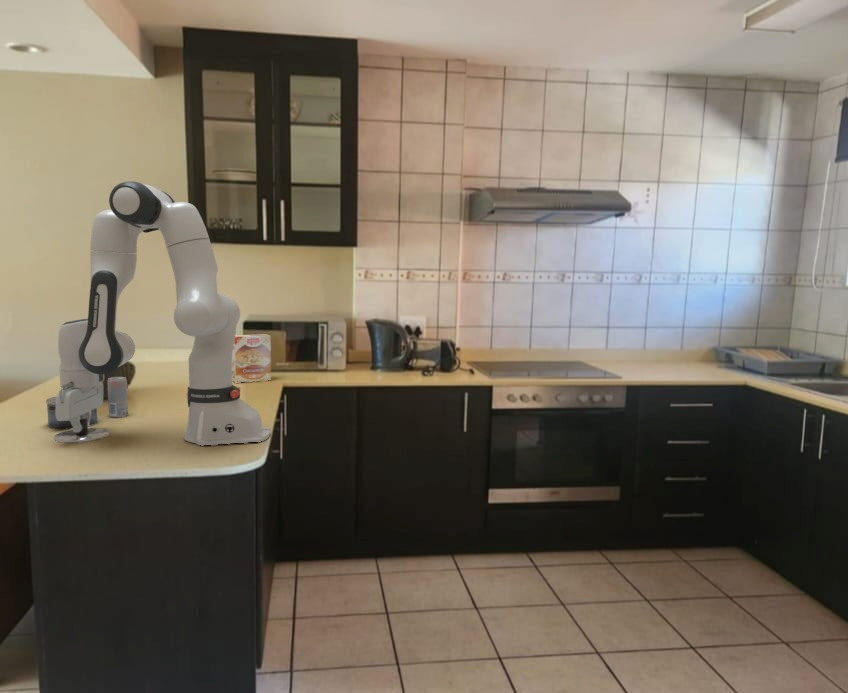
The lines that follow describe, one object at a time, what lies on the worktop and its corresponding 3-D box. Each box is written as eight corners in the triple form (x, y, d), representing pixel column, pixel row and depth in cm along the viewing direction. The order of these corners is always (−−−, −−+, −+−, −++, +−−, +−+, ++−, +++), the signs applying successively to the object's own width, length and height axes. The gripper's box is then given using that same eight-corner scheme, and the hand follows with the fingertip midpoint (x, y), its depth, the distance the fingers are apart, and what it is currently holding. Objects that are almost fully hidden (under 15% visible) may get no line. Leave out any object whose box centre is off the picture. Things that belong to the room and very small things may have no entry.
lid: (116, 430, 174) (115, 414, 174) (96, 443, 161) (95, 425, 161) (68, 431, 173) (67, 414, 172) (44, 443, 160) (43, 425, 160)
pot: (108, 416, 190) (107, 392, 190) (82, 431, 173) (81, 404, 172) (64, 417, 189) (63, 392, 188) (33, 431, 172) (32, 404, 171)
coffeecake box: (235, 384, 251) (234, 336, 249) (231, 381, 257) (230, 334, 255) (271, 381, 259) (271, 335, 256) (266, 378, 265) (266, 333, 262)
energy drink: (123, 413, 196) (121, 376, 194) (131, 415, 192) (129, 378, 191) (106, 416, 191) (104, 378, 190) (113, 418, 188) (112, 380, 187)
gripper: (73, 386, 155) (75, 439, 157) (106, 373, 176) (109, 421, 177) (46, 386, 155) (49, 439, 156) (83, 373, 175) (86, 421, 177)
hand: (81, 429), depth 167 cm, fingers closed on lid, 3 cm apart
